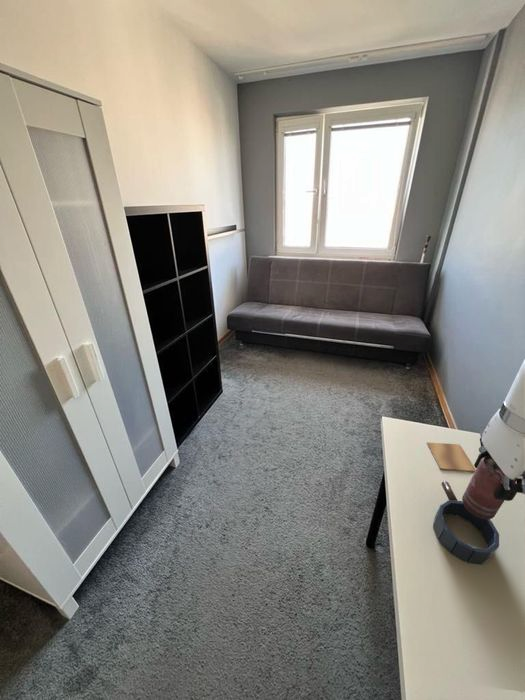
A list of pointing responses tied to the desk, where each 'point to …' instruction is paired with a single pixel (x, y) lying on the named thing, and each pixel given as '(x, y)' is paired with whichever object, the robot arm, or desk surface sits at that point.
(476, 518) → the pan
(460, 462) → the coaster
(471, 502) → the can
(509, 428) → the robot arm
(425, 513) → the desk surface
